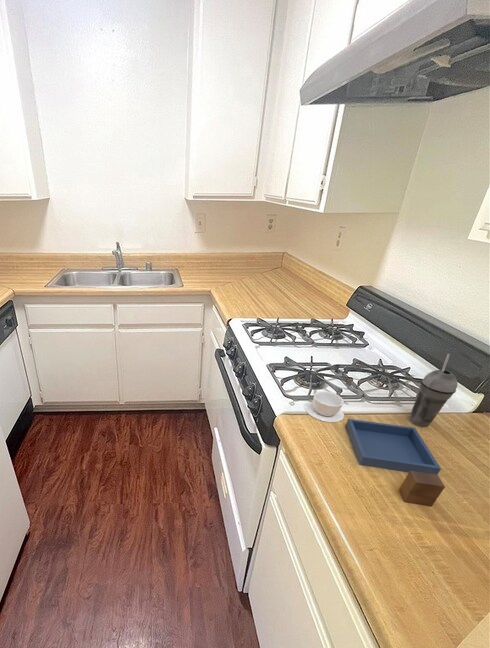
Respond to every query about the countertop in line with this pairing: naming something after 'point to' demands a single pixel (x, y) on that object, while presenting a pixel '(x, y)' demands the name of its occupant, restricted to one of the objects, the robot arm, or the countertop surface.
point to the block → (421, 488)
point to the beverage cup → (433, 395)
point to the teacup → (326, 406)
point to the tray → (390, 447)
